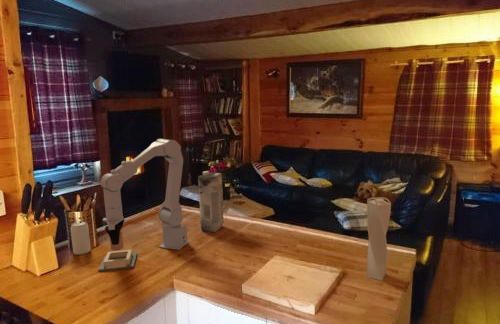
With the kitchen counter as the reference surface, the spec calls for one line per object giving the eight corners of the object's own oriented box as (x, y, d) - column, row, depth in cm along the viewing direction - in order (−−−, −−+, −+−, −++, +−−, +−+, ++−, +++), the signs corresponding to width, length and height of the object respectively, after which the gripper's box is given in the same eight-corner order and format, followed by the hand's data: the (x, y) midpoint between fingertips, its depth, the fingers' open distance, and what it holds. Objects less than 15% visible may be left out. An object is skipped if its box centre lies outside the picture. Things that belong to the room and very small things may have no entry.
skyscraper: (384, 283, 117) (388, 199, 112) (361, 278, 121) (364, 196, 116) (390, 273, 124) (393, 193, 119) (367, 268, 128) (370, 190, 123)
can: (84, 255, 144) (80, 226, 142) (69, 254, 146) (66, 225, 143) (94, 249, 150) (91, 221, 148) (80, 248, 152) (77, 220, 150)
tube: (126, 246, 138) (124, 225, 136) (118, 251, 134) (116, 230, 132) (116, 244, 139) (114, 224, 138) (108, 249, 135) (106, 228, 134)
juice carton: (225, 225, 174) (223, 169, 169) (216, 233, 164) (213, 174, 159) (208, 223, 177) (205, 168, 172) (198, 231, 167) (195, 173, 162)
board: (137, 254, 144) (136, 247, 144) (133, 268, 133) (132, 260, 132) (105, 257, 142) (104, 250, 142) (98, 271, 131) (97, 264, 130)
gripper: (105, 201, 140) (108, 235, 142) (97, 213, 126) (101, 250, 128) (125, 200, 141) (127, 233, 143) (119, 211, 127) (122, 248, 129)
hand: (116, 241), depth 136 cm, fingers closed on tube, 4 cm apart
